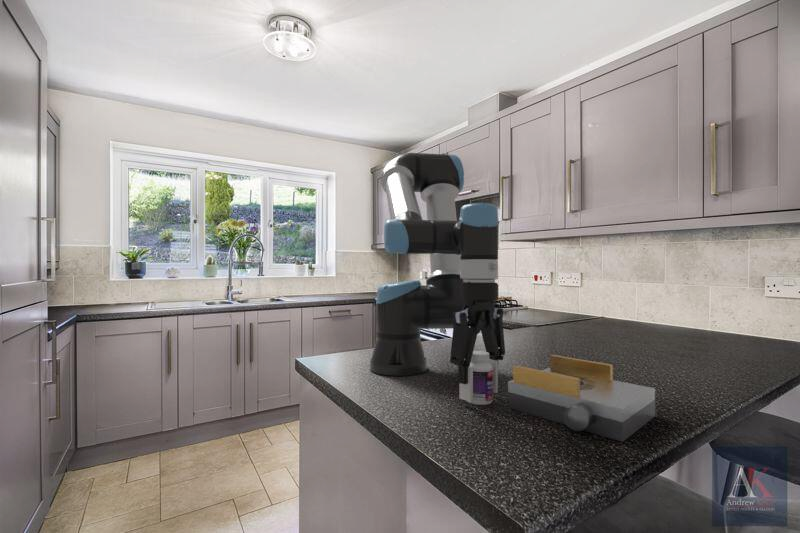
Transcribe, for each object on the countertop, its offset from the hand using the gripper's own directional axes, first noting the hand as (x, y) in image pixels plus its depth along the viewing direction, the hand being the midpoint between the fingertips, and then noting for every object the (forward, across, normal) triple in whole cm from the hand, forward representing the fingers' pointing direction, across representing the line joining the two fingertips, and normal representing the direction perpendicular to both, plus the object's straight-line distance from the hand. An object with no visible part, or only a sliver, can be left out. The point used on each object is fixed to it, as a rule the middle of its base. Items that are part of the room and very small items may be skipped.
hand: (479, 395), depth 78 cm
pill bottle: (+1, 0, 0) cm, 1 cm away
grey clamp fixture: (+1, +7, -16) cm, 18 cm away
